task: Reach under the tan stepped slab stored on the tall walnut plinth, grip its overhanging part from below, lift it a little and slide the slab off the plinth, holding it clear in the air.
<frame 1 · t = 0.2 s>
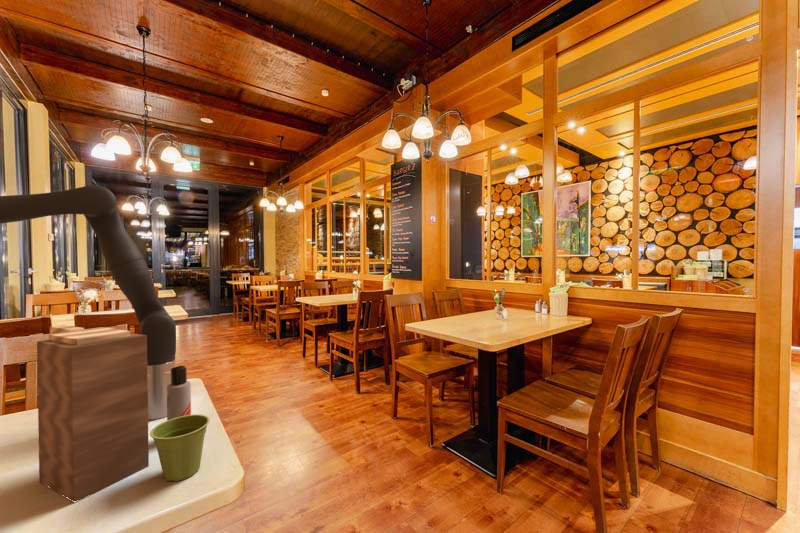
lotion bottle: (179, 437, 97), on the table
tan stepped slab: (76, 335, 83), point 32 cm above the table, touching walnut plinth
plant pot: (181, 473, 80), on the table
walnut plinth: (96, 474, 80), on the table
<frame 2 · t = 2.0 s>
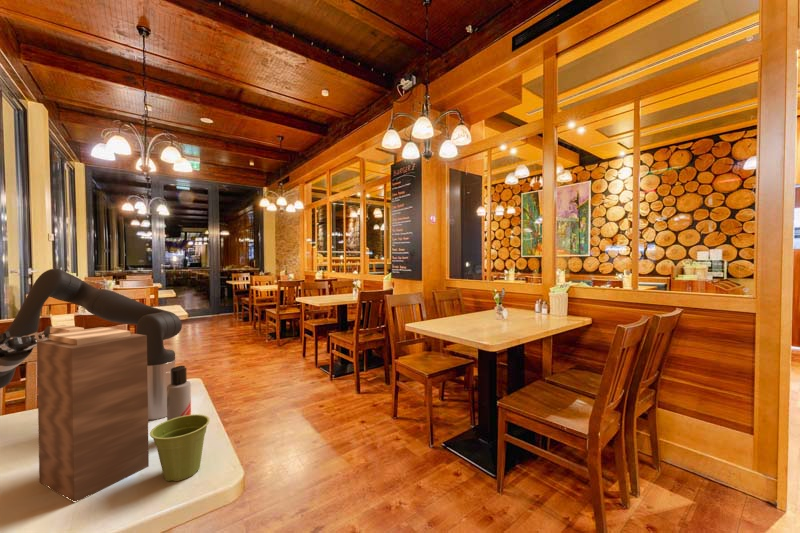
hand: (30, 331, 93), 31 cm above the table, tool pointing upward, fingers open, 8 cm apart
nothing on the table moved.
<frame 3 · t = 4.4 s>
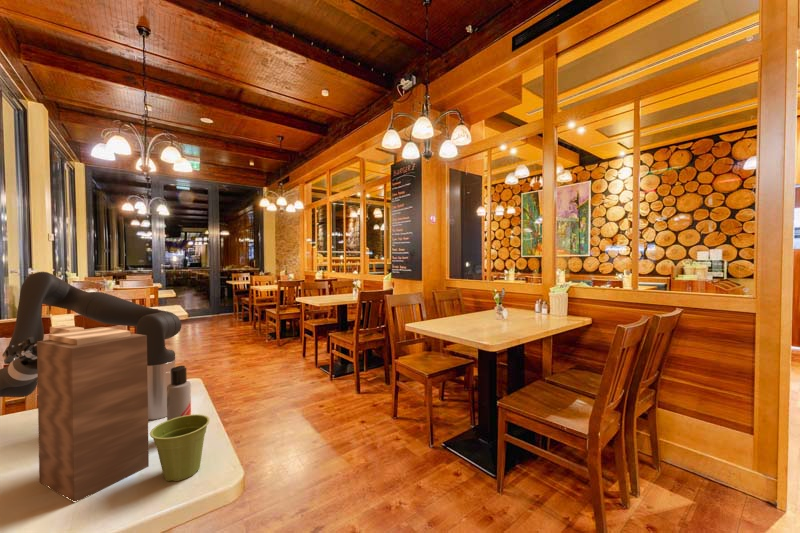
hand: (55, 336, 88), 31 cm above the table, tool pointing upward, fingers open, 8 cm apart
nothing on the table moved.
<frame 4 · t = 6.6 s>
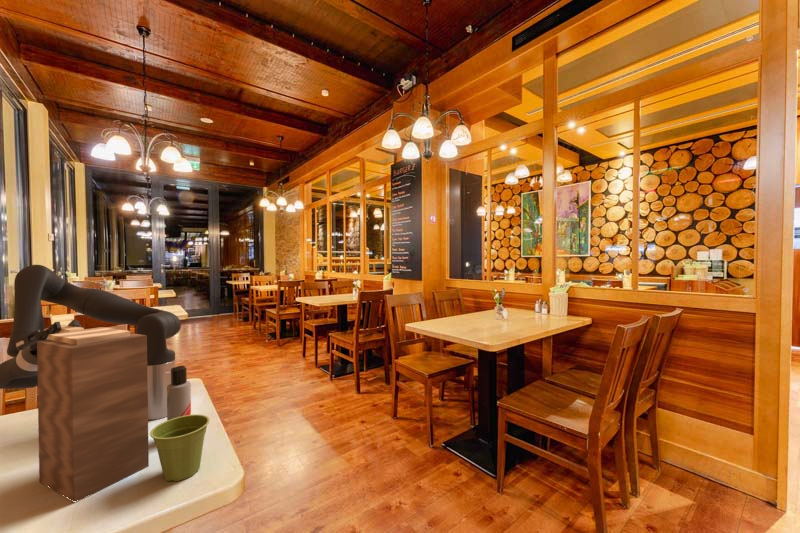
hand: (67, 324, 85), 34 cm above the table, tool pointing upward, fingers closed on tan stepped slab, 2 cm apart
tan stepped slab: (76, 335, 83), point 32 cm above the table, touching gripper, walnut plinth
everything else where it was.
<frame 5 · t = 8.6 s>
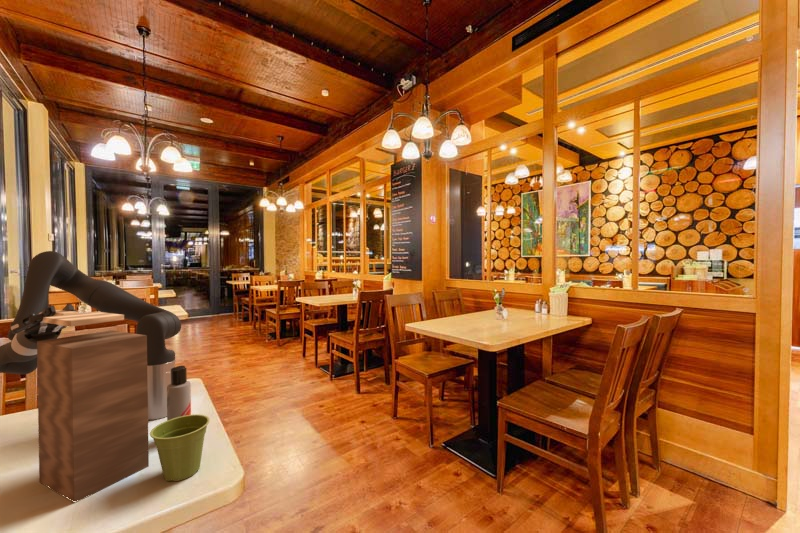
hand: (62, 308, 86), 38 cm above the table, tool pointing upward, fingers closed on tan stepped slab, 2 cm apart
tan stepped slab: (71, 319, 84), point 36 cm above the table, touching gripper
everything else where it was.
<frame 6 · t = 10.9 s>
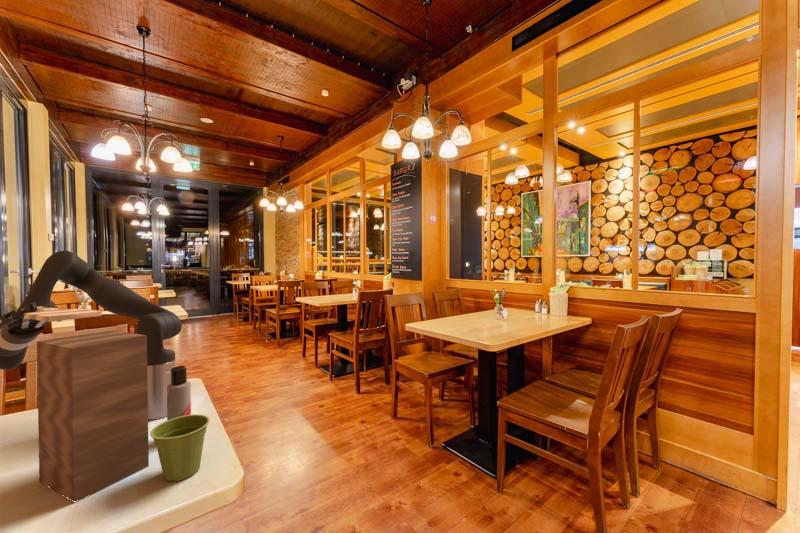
hand: (43, 304, 90), 39 cm above the table, tool pointing upward, fingers closed on tan stepped slab, 2 cm apart
tan stepped slab: (51, 315, 88), point 36 cm above the table, touching gripper
everything else where it was.
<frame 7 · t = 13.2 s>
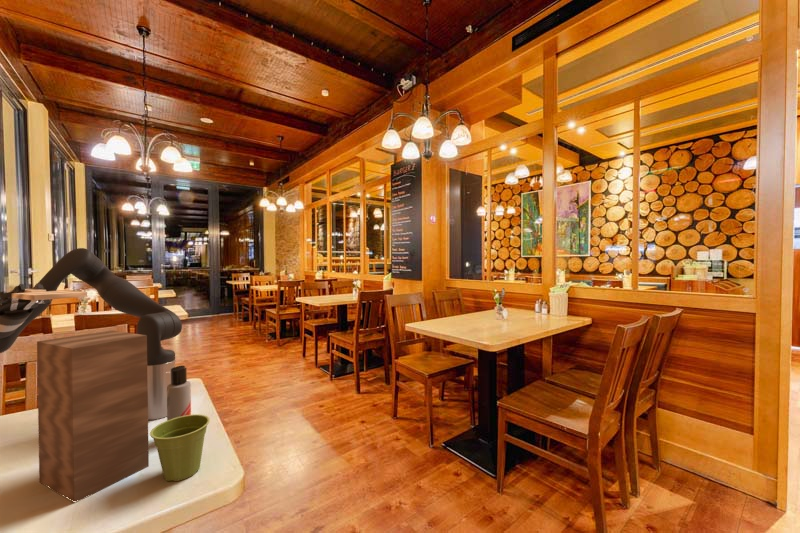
hand: (31, 286, 93), 43 cm above the table, tool pointing upward, fingers closed on tan stepped slab, 2 cm apart
tan stepped slab: (38, 296, 91), point 41 cm above the table, touching gripper
everything else where it was.
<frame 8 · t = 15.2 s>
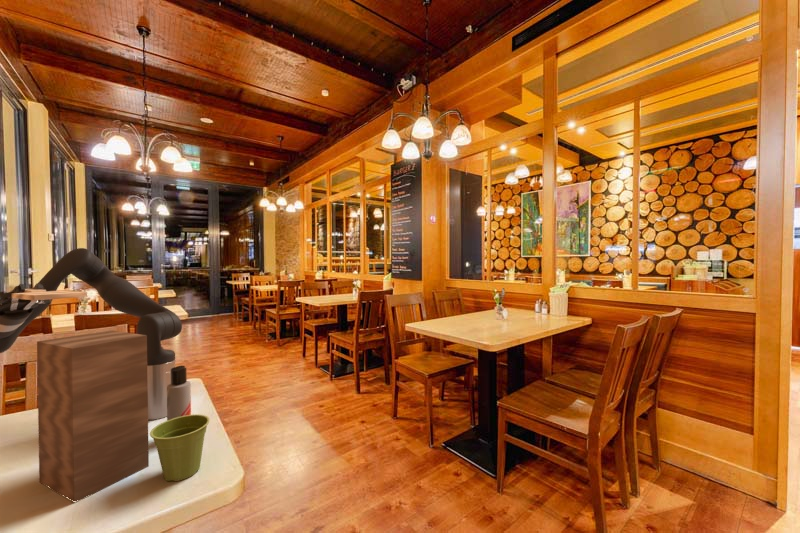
hand: (31, 286, 93), 43 cm above the table, tool pointing upward, fingers closed on tan stepped slab, 2 cm apart
tan stepped slab: (38, 296, 91), point 41 cm above the table, touching gripper
everything else where it was.
at the end: the gripper is holding tan stepped slab; tan stepped slab touching gripper; tan stepped slab moved 21.8 cm from its start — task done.
